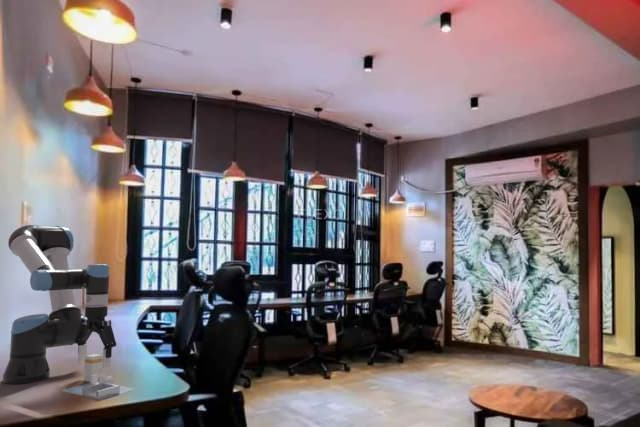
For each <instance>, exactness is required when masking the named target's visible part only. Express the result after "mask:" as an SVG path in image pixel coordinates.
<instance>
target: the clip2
mask: <svg viewBox="0 0 640 427" xmlns="http://www.w3.org/2000/svg"><path fill="white" fill-rule="evenodd" d="M113 379H114V378H113V377H112V376H111V375H109V376H108V375H106V377H102V381H101V383H103V382H105V383H110V384H114V383H113V382H114V380H113Z"/></svg>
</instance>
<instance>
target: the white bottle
mask: <svg viewBox="0 0 640 427" xmlns="http://www.w3.org/2000/svg"><path fill="white" fill-rule="evenodd" d="M102 364H103V354H98V353H93V354H89V355H87V354H86V356H85V363H84V374H83V381H84V382H89V383H90V376H91V375H94V374H98V380H97V381H99V376H101V375H102Z"/></svg>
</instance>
